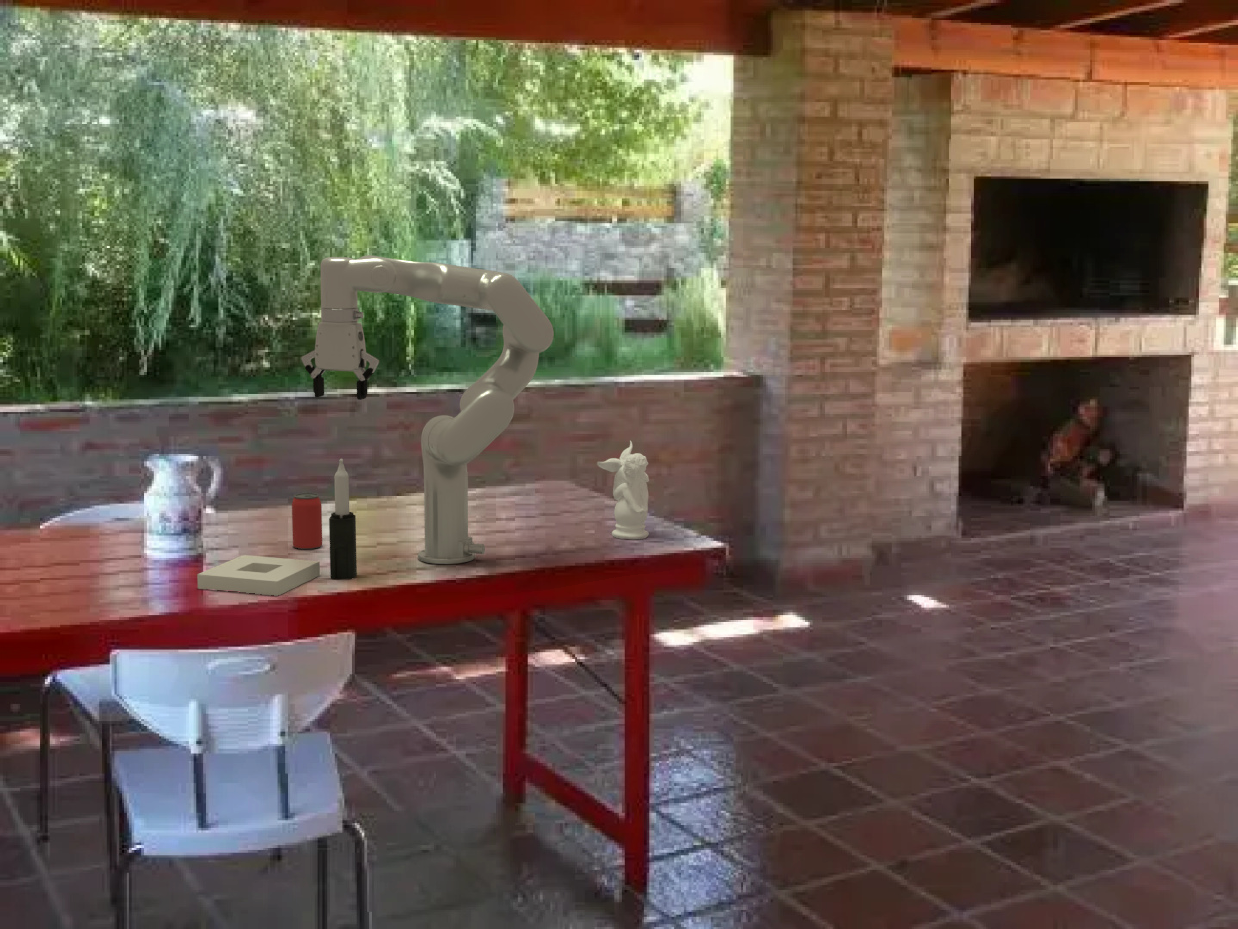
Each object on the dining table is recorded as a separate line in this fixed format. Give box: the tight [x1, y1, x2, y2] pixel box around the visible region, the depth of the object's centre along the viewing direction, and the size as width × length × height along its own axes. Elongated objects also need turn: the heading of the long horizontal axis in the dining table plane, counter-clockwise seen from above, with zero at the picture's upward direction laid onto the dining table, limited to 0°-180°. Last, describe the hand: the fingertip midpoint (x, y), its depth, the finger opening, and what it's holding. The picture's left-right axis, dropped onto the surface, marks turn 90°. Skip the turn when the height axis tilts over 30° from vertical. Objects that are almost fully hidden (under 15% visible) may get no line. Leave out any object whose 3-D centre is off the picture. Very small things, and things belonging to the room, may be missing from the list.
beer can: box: [291, 492, 323, 550], centre depth 354 cm, size 7×7×12 cm
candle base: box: [196, 554, 321, 597], centre depth 322 cm, size 18×18×3 cm
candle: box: [328, 458, 358, 580], centre depth 326 cm, size 5×5×25 cm
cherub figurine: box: [596, 440, 650, 540], centre depth 368 cm, size 12×12×22 cm
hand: (340, 397), depth 330 cm, fingers open, 9 cm apart
